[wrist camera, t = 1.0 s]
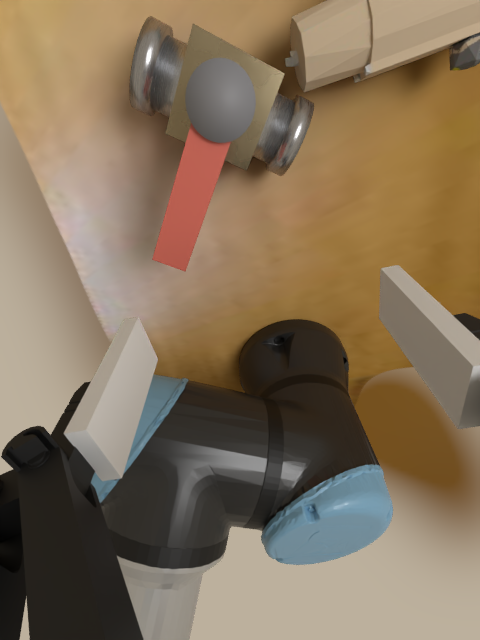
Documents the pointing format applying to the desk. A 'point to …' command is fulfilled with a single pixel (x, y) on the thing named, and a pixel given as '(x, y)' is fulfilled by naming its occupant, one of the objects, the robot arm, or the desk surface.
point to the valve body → (171, 82)
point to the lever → (204, 152)
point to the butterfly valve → (380, 37)
